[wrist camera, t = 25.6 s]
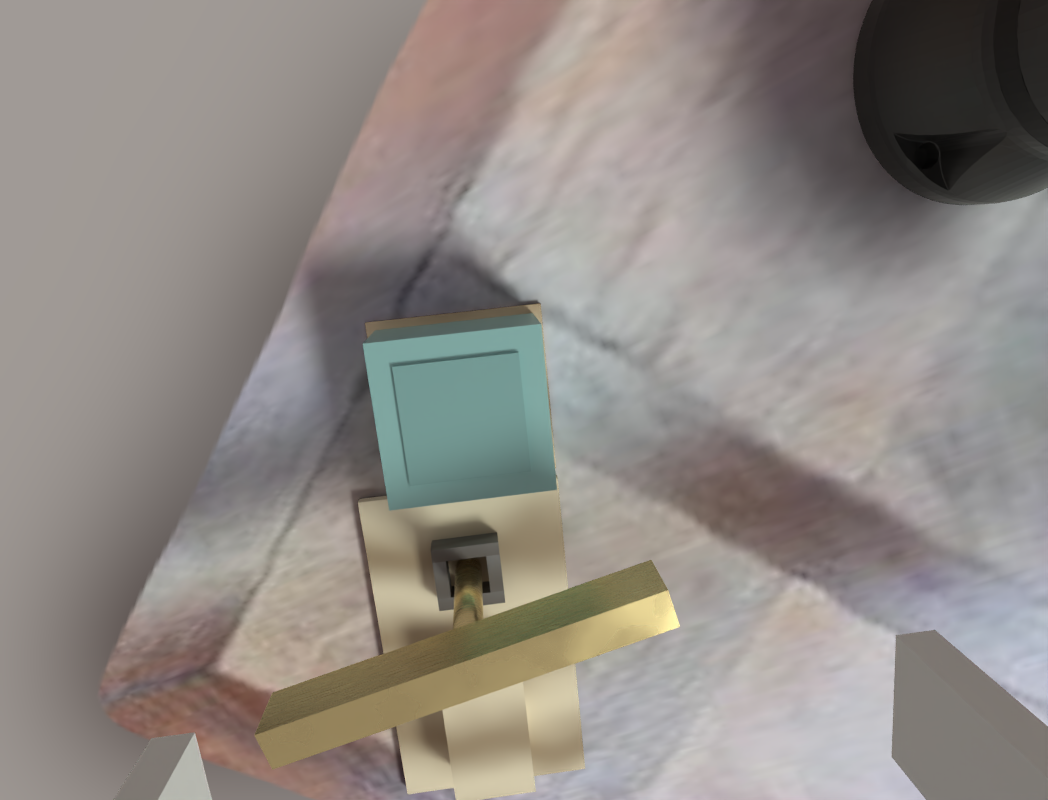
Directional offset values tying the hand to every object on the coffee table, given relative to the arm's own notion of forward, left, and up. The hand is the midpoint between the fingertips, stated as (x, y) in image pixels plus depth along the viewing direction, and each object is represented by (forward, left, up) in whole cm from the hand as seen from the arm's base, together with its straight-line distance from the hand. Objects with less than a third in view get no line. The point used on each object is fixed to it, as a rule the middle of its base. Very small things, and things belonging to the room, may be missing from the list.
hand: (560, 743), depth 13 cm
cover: (0, -2, -28) cm, 29 cm away
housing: (+16, -3, -29) cm, 33 cm away
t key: (+10, -3, -29) cm, 31 cm away
